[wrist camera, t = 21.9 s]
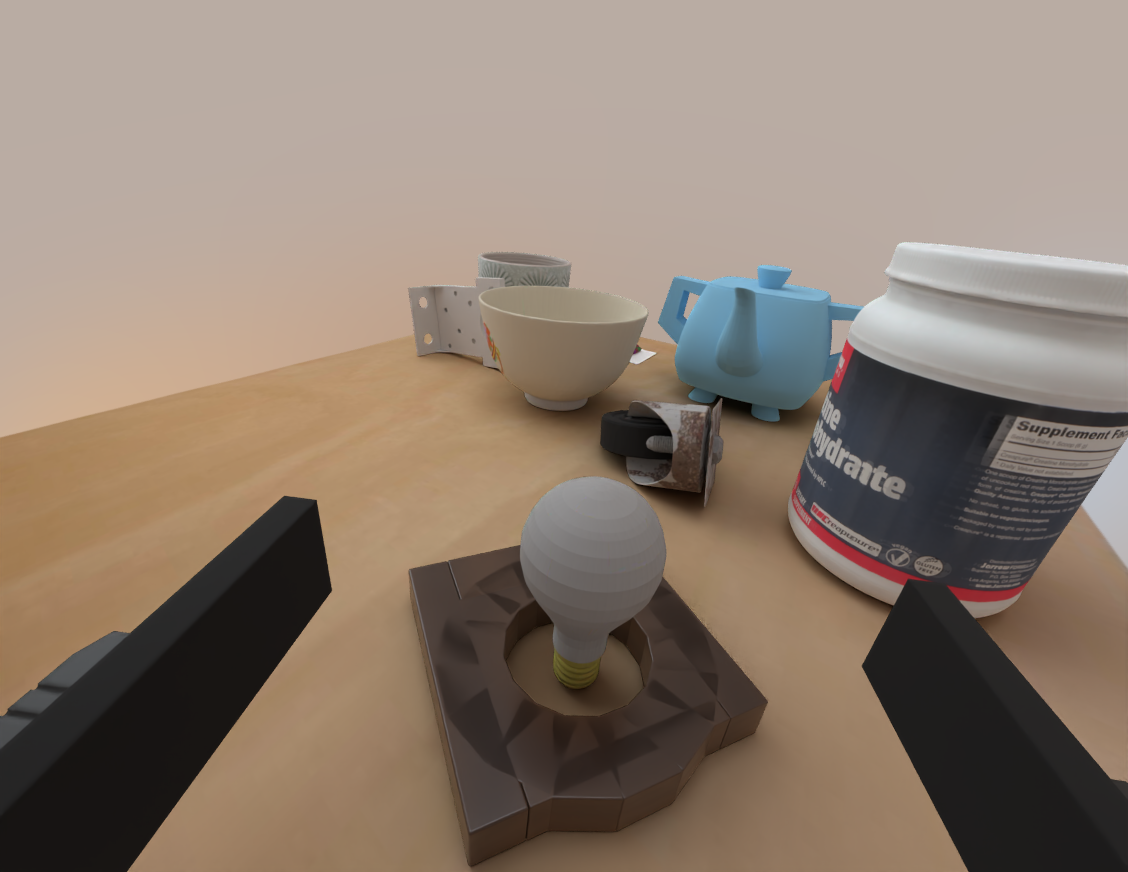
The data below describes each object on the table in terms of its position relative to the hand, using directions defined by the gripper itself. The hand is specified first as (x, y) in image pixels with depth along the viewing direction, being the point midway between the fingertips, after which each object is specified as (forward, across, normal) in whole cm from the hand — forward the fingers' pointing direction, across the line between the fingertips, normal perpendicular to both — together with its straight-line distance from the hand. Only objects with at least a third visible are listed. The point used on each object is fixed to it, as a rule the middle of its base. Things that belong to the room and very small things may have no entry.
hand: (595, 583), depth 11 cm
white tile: (+58, +2, -12) cm, 59 cm away
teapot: (+44, +15, -11) cm, 48 cm away
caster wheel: (+26, +5, -12) cm, 29 cm away
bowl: (+38, -4, -12) cm, 40 cm away
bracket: (+46, -17, -12) cm, 50 cm away
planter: (+59, -12, -12) cm, 61 cm away
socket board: (+7, 0, -11) cm, 13 cm away
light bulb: (+6, 0, -11) cm, 13 cm away
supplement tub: (+18, +20, -11) cm, 29 cm away
